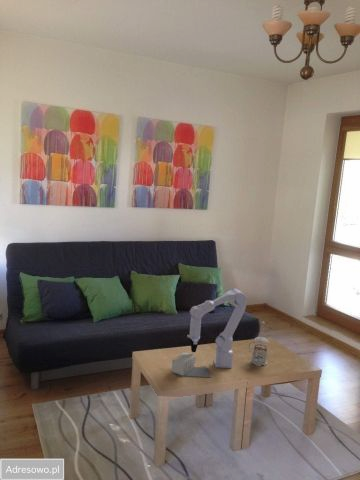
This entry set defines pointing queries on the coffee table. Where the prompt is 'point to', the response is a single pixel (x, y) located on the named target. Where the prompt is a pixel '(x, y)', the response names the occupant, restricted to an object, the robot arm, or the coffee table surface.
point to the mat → (197, 372)
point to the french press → (259, 359)
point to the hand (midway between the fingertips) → (193, 351)
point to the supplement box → (183, 363)
